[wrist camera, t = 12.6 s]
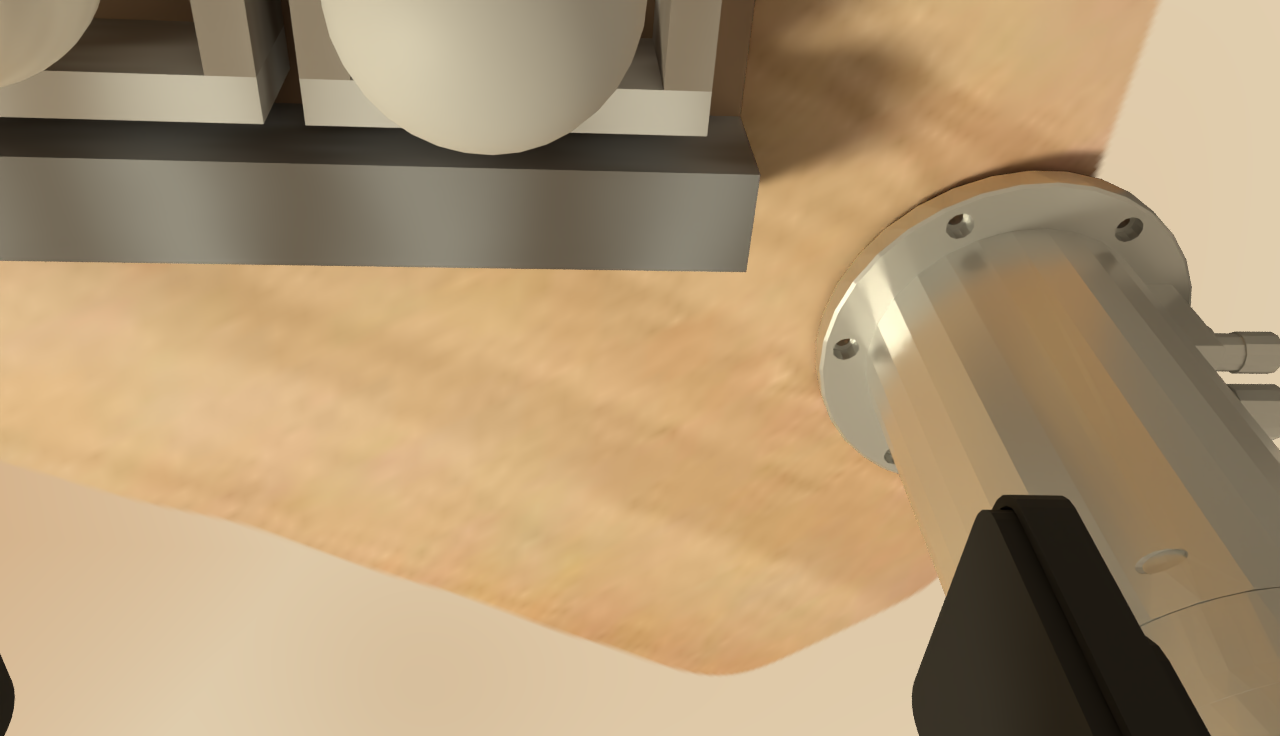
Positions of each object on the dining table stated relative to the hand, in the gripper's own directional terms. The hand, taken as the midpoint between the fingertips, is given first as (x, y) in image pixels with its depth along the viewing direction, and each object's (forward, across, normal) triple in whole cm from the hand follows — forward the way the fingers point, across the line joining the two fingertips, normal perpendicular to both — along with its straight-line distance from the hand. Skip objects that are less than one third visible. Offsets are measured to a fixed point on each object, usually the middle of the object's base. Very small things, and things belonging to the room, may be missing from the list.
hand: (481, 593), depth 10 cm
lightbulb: (+22, +1, -1) cm, 22 cm away
